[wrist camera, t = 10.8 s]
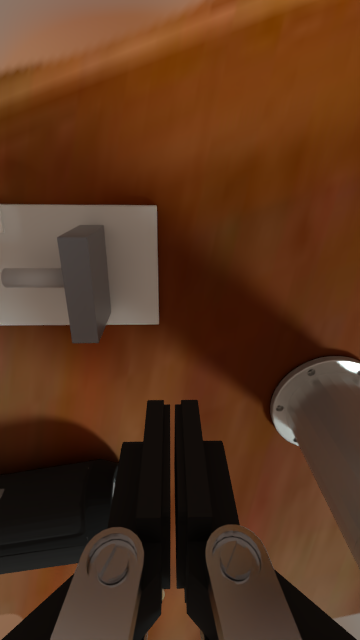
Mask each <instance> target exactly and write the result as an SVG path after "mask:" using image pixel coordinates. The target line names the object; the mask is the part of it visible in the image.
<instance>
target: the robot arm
mask: <svg viewBox="0 0 360 640" xmlns="http://www.w3.org/2000/svg"><path fill="white" fill-rule="evenodd" d="M270 414H271V418H272V421H273V423H274V426H275V428H276V430H277V431H278V432H279V434H280V435H281V436H282V437H283V438H284V439H286V440H287V441H289V442H291V443H292V444H295V445H298V446H299V447H300V449H301V451H302V453H303V455H304V457H305V459H306V461H307V463H308V465H309V467H310V469H311V471H312V473H313V475H314V477H315V479H316V481H317V484H318V486H319V488H320V490H321V492H322V494H323V496H324V498H325V500H326V502H327V504H328V506H329V508H330V510H331V512H332V514H333V516H334V518H335V520H336V522H337V524H338V526H339V529H340V531H341V533H342V535H343V537H344V539H345V541H346V543H347V545H348V547H349V549H350V551H351V553H352V555H353V557H354V559H355V561H356V563H357V565H358V567H359V569H360V361H358V360H356V359H353V358H350V357H344V356H328V357H322V358H317V359H314V360H311V361H308V362H306V363H304V364H302V365H300V366H298V367H297V368H296V369H294V370H293V371H291V372H290V373H289V374H288V375H287V376H286V377H285V378H284V379H283V380H282V381H281V382H280V383H279V385H278V386H277V388H276V389H275V391H274V394H273V396H272V399H271V404H270ZM174 466H175V524H176V578H177V589H180V588H184V590H185V603H186V604H187V614H188V615H189V617H190V618H191V619H192V620H193V621H194V622H195V624H196V625H197V626H198V627H199V628H200V635H201V640H356V639H355V638H354V637H353V636H352V635H351V634H349V633H348V632H347V631H346V630H345V629H344V628H342V627H341V626H340V625H339V624H338V623H336V622H335V621H334V620H333V619H332V618H331V617H330V616H328V615H327V614H326V613H325V612H324V611H322V610H321V609H320V608H319V607H318V606H317V605H315V604H314V603H313V602H312V601H311V600H310V599H308V598H307V597H306V596H305V595H304V594H303V593H301V592H300V591H299V590H298V589H297V588H296V587H294V586H293V585H292V584H291V583H290V582H288V581H287V580H286V579H285V578H284V577H283V576H281V575H280V574H279V573H278V572H277V571H276V570H274V568H273V566H272V563H271V561H270V558H269V556H268V553H267V551H266V549H265V547H264V545H263V543H262V542H261V540H260V539H259V538H258V537H257V536H256V535H255V534H254V533H253V532H252V531H250V530H249V529H247V528H245V527H242V526H240V524H239V520H238V515H237V510H236V505H235V500H234V495H233V490H232V485H231V480H230V475H229V470H228V465H227V461H226V456H225V451H224V446H223V443H222V441H203V438H202V431H201V423H200V415H199V407H198V401H197V400H181V405H175V463H174ZM162 589H170V405H164V400H148V401H147V410H146V421H145V431H144V441H143V442H123V444H122V448H121V454H120V459H119V465H118V471H117V476H116V482H115V487H114V493H113V499H112V504H111V510H110V516H109V521H108V527H107V529H106V530H103V531H101V532H100V533H98V534H97V535H95V536H94V537H93V538H92V539H91V540H90V541H89V543H88V544H87V545H86V547H85V549H84V551H83V553H82V555H81V557H80V560H79V563H78V566H77V568H76V571H75V573H74V574H73V575H72V576H71V577H70V578H69V579H68V580H67V581H65V582H64V583H63V584H62V585H61V586H60V587H59V588H58V589H57V590H56V591H54V592H53V593H52V594H51V595H50V596H49V597H48V598H47V599H46V600H45V601H43V602H42V603H41V604H40V605H39V606H38V607H37V608H36V609H35V610H34V611H32V612H31V613H30V614H29V615H28V616H27V617H26V618H25V619H24V620H23V621H22V622H21V623H20V624H18V625H17V626H16V627H15V628H14V629H13V630H12V631H11V632H10V633H8V635H6V636H5V637H4V638H3V639H2V640H147V634H148V630H149V629H150V628H151V627H152V625H153V624H154V623H155V621H156V620H157V619H158V618H159V616H160V615H161V603H162Z"/></svg>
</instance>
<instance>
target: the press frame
mask: <svg viewBox="0 0 360 640" xmlns="http://www.w3.org/2000/svg"><path fill="white" fill-rule="evenodd" d="M79 225H104V234H105V245H106V257H107V269H108V280H109V292H110V303H111V314H110V317H109V319H108V322H107V324H106V325H148V324H159V291H158V238H157V205H70V204H0V325H70V323H69V316H68V310H67V303H66V296H65V289H64V288H6V287H4V286H3V284H2V281H1V272H2V270H3V269H4V268H61V262H60V255H59V249H58V242H57V237H58V236H60V235H62V234H64V233H66V232H68V231H69V230H71V229H73V228H75V227H77V226H79Z"/></svg>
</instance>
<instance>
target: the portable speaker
mask: <svg viewBox="0 0 360 640" xmlns="http://www.w3.org/2000/svg"><path fill="white" fill-rule="evenodd" d="M118 465H119V464H118V463H114V462H110V461H106V460H102V459H98V460H95V461H88V462H82V463H76V464H69V465H63V466H57V467H50V468H44V469H38V470H31V471H25V472H18V473H12V474H6V475H0V574H5V573H12V572H19V571H26V570H33V569H40V568H47V567H54V566H61V565H68V564H75V563H79V560H80V557H81V555H82V553H83V551H84V549H85V547H86V545H87V544H88V543H89V541H90V540H91V539H92V538H93V537H94V536H95V535H97V534H98V533H100V532H101V531H103V530H106V529H107V527H108V521H109V516H110V510H111V504H112V499H113V493H114V487H115V482H116V476H117V471H118Z"/></svg>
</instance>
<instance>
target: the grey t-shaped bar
mask: <svg viewBox="0 0 360 640" xmlns="http://www.w3.org/2000/svg"><path fill="white" fill-rule="evenodd" d="M57 242H58V249H59V255H60V262H61V268H4V269H3V270H2V272H1V281H2V284H3V286H4V287H6V288H64V289H65V296H66V303H67V310H68V316H69V323H70V330H71V337H72V343H99V341H100V338H101V336H102V334H103V331H104V329H105V326H106V324H107V322H108V319H109V317H110V314H111V303H110V292H109V280H108V269H107V257H106V245H105V234H104V225H79V226H77V227H75V228H73V229H71V230H69V231H68V232H66V233H64V234H62V235H60V236H58V237H57Z"/></svg>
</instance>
